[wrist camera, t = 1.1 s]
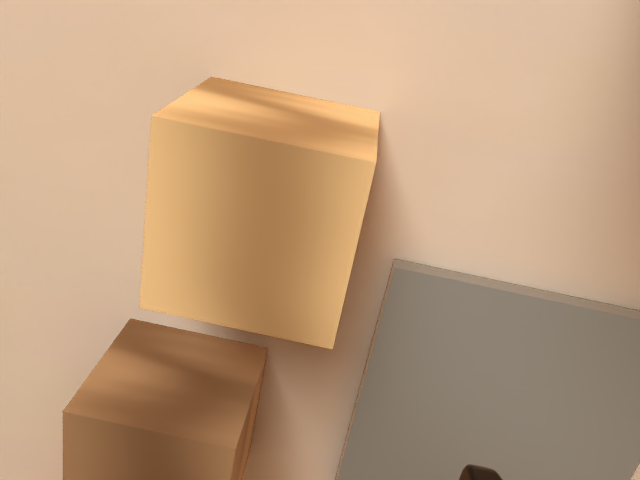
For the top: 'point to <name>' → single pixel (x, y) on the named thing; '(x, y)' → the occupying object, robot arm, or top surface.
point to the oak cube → (256, 208)
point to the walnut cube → (164, 408)
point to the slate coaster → (495, 383)
